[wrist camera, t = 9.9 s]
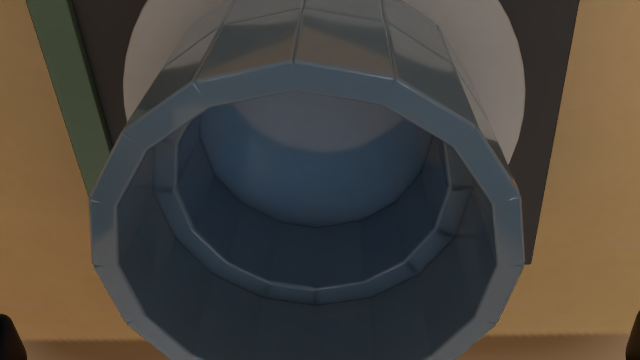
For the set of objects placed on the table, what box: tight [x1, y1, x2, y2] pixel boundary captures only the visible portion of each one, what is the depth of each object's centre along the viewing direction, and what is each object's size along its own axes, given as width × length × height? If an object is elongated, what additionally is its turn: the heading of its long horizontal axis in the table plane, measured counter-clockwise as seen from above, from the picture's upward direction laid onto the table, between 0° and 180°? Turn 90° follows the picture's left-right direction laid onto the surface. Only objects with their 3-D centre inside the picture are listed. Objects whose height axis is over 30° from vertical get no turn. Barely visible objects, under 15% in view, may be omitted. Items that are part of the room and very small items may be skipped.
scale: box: [26, 0, 579, 264], centre depth 15 cm, size 12×10×3 cm
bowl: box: [89, 0, 525, 360], centre depth 12 cm, size 7×7×5 cm
